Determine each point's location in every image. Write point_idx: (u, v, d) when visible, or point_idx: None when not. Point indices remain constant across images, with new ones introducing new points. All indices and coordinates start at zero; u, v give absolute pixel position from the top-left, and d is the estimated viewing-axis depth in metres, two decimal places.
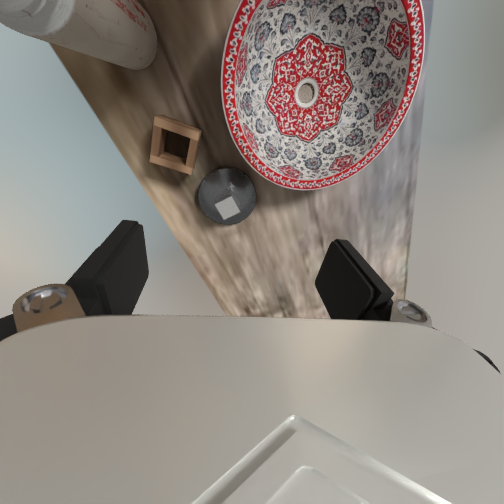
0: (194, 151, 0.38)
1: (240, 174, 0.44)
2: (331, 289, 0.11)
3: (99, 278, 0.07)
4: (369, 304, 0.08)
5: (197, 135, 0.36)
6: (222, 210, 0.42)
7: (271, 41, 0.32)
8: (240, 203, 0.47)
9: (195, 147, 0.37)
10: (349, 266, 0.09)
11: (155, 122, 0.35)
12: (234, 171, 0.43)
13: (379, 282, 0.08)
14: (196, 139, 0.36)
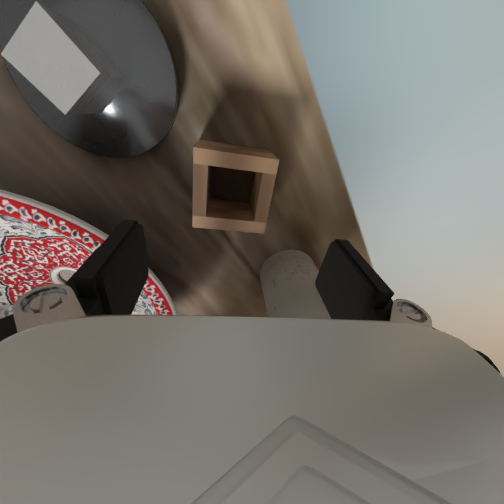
0: (195, 197, 0.19)
1: (96, 150, 0.20)
2: (331, 289, 0.11)
3: (99, 278, 0.07)
4: (369, 304, 0.08)
5: (195, 223, 0.21)
6: (63, 48, 0.13)
7: (138, 312, 0.30)
8: None
9: (194, 204, 0.20)
10: (349, 266, 0.09)
11: (263, 226, 0.22)
12: (112, 154, 0.20)
13: (379, 282, 0.08)
14: (195, 217, 0.20)
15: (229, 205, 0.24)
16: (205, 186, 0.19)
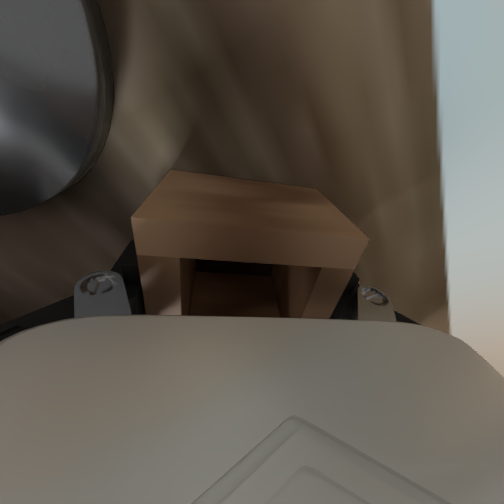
0: None
1: None
2: None
3: None
4: None
5: None
6: None
7: None
8: None
9: None
10: None
11: None
12: None
13: None
14: None
15: (234, 292, 0.12)
16: (176, 299, 0.08)
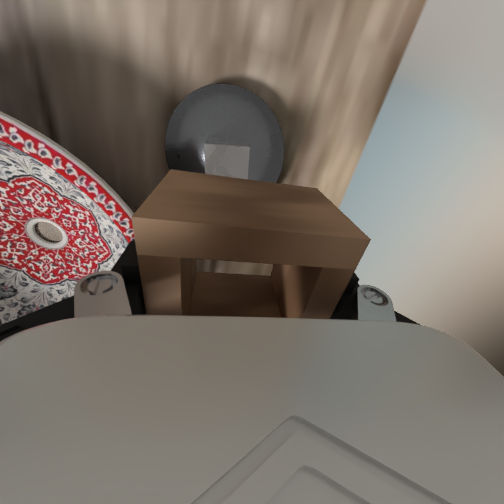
0: None
1: None
2: None
3: None
4: None
5: None
6: (240, 169, 0.19)
7: None
8: (206, 131, 0.21)
9: None
10: None
11: None
12: None
13: None
14: None
15: (234, 292, 0.12)
16: (176, 299, 0.08)
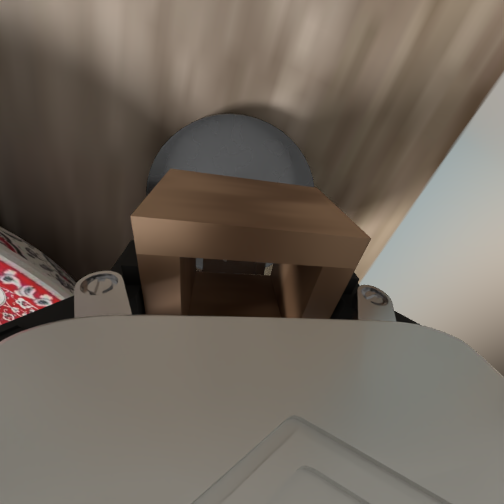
0: None
1: None
2: None
3: None
4: None
5: None
6: None
7: None
8: None
9: None
10: None
11: None
12: None
13: None
14: None
15: (234, 291, 0.12)
16: (176, 298, 0.08)
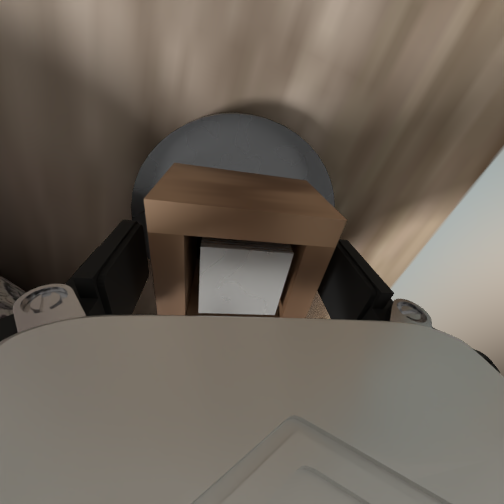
0: (160, 292, 0.09)
1: None
2: (331, 289, 0.11)
3: (99, 278, 0.07)
4: (369, 304, 0.08)
5: None
6: (267, 286, 0.10)
7: None
8: None
9: (160, 303, 0.10)
10: (349, 266, 0.09)
11: None
12: None
13: (379, 282, 0.08)
14: None
15: None
16: (180, 273, 0.09)
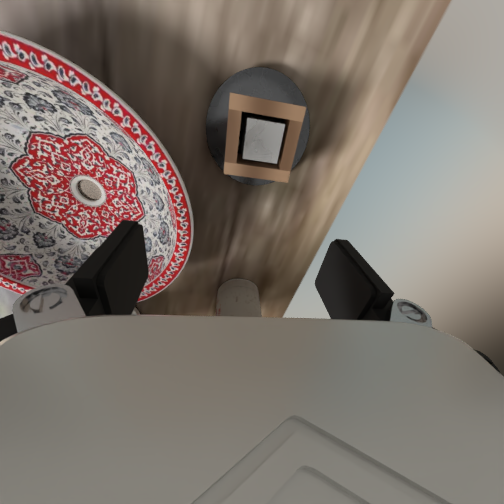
0: (228, 143, 0.22)
1: (216, 157, 0.27)
2: (331, 289, 0.11)
3: (99, 278, 0.07)
4: (369, 304, 0.08)
5: (226, 169, 0.23)
6: (274, 143, 0.22)
7: None
8: None
9: (227, 150, 0.22)
10: (349, 266, 0.09)
11: (287, 175, 0.24)
12: (221, 167, 0.28)
13: (379, 282, 0.08)
14: (227, 163, 0.23)
15: None
16: (238, 132, 0.21)
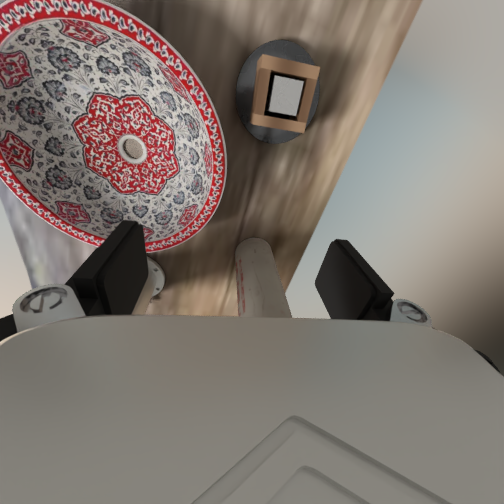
0: (258, 97, 0.27)
1: (242, 117, 0.33)
2: (331, 289, 0.11)
3: (99, 278, 0.07)
4: (369, 304, 0.08)
5: (255, 121, 0.29)
6: (294, 98, 0.28)
7: (157, 207, 0.38)
8: None
9: (257, 103, 0.28)
10: (349, 266, 0.09)
11: (303, 126, 0.29)
12: (247, 126, 0.33)
13: (379, 282, 0.08)
14: (256, 115, 0.28)
15: None
16: (266, 88, 0.27)
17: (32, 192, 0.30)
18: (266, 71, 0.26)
